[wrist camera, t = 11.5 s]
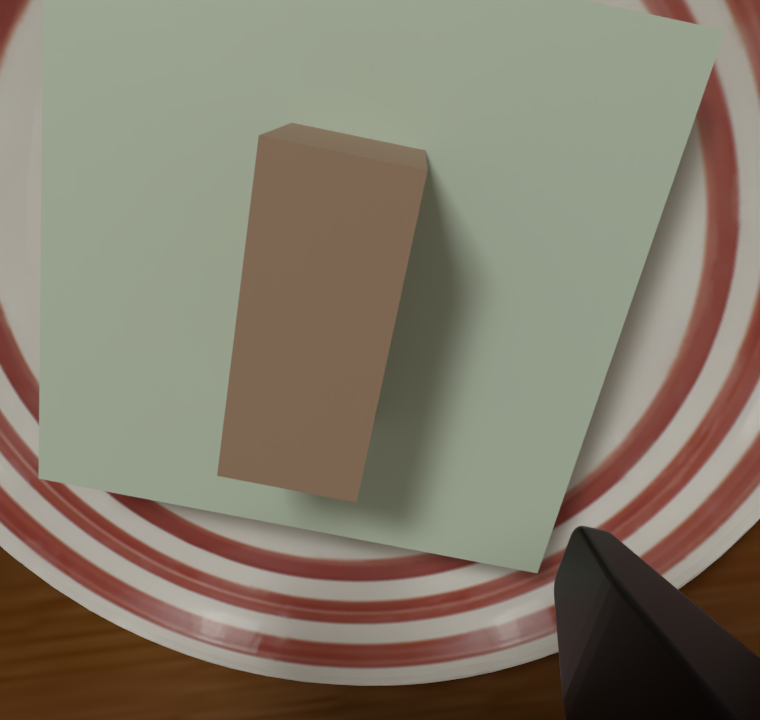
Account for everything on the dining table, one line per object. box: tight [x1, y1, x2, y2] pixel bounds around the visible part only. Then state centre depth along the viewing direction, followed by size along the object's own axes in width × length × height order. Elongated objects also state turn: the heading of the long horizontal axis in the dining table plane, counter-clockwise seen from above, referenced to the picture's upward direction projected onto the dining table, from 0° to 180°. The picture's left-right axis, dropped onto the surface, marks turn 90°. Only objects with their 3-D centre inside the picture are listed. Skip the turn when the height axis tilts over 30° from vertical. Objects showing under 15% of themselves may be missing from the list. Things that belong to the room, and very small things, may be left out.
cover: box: [39, 0, 725, 573], centre depth 16 cm, size 14×14×4 cm
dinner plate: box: [0, 0, 760, 686], centre depth 19 cm, size 27×27×3 cm
